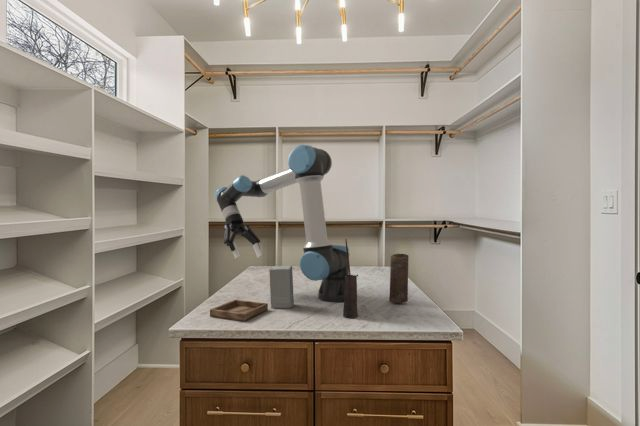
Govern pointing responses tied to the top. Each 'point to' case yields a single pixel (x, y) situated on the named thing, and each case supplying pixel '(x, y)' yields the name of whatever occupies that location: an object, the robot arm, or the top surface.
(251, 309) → the walnut tray
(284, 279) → the skincare box
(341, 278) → the robot arm
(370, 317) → the top surface
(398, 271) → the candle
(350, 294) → the butter churn
